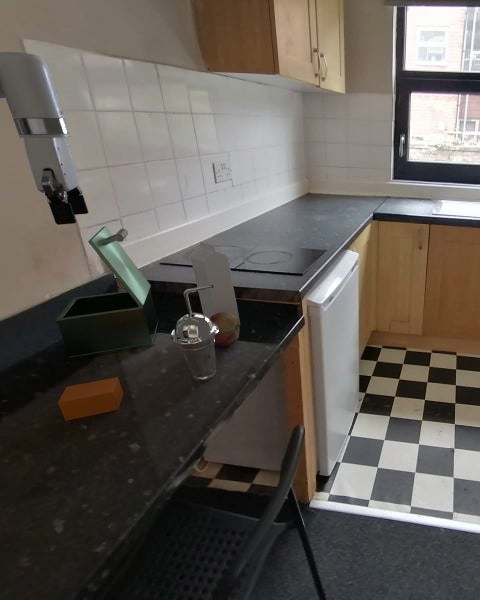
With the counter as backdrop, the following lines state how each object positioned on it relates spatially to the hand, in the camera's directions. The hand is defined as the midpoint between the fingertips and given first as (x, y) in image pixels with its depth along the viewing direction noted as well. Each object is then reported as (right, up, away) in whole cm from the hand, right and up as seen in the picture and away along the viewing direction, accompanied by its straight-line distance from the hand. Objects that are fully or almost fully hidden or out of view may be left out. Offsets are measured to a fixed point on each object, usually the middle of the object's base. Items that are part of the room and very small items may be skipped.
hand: (73, 218), depth 83 cm
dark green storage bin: (0, -27, +13) cm, 30 cm away
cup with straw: (+27, -33, 0) cm, 43 cm away
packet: (+12, -37, -9) cm, 39 cm away
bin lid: (+5, -9, +8) cm, 13 cm away
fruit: (+27, -28, +11) cm, 40 cm away
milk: (+22, -24, +20) cm, 38 cm away
